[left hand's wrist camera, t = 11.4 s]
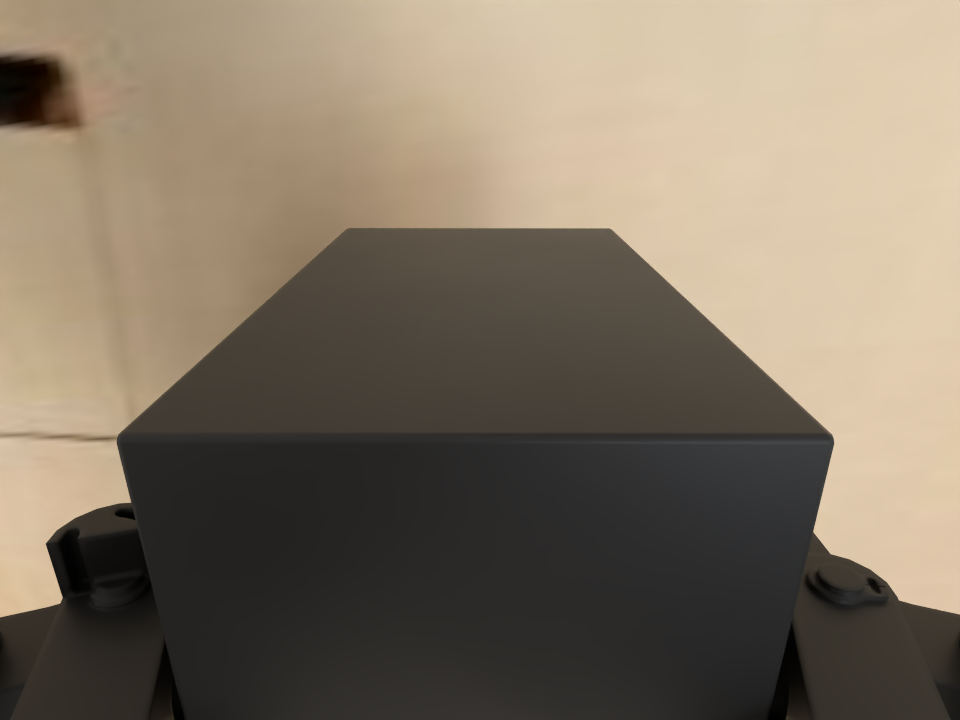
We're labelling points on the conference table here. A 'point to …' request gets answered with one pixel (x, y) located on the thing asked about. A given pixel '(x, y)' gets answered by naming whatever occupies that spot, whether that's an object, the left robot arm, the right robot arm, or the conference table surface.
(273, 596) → the box
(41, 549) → the conference table surface
